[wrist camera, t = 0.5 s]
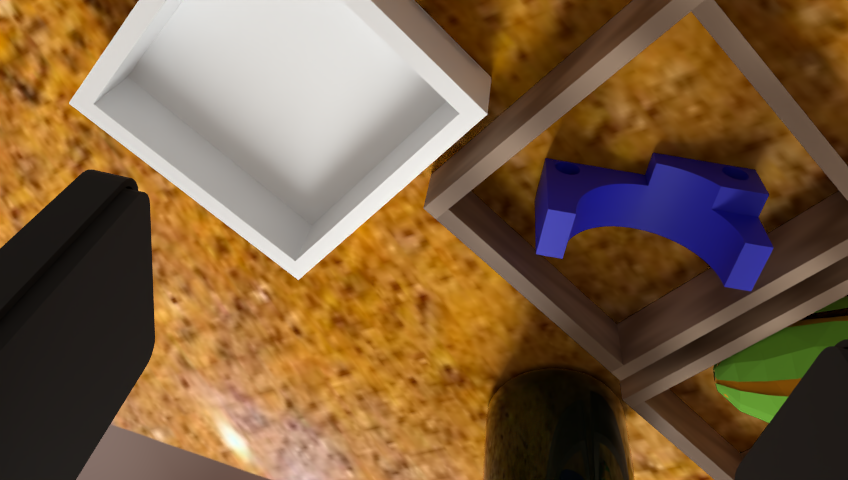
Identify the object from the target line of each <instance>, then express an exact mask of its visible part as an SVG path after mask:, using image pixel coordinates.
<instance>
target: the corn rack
mask: <svg viewBox="0 0 848 480" xmlns="http://www.w3.org/2000/svg"><path fill="white" fill-rule="evenodd" d="M846 295H848V256H846V257H844V258H843V259H841V260H839V261H837V262H835V263H833V264H832V265H830V266H828V267H826V268H824V269H823V270H821V271H819V272H817V273H815V274H814V275H812V276H810V277H808V278H806V279H804V280H803V281H801V282H799V283H797V284H795V285H794V286H792V287H790V288H788V289H786V290H785V291H783V292H781V293H779V294H777V295H775V296H774V297H772V298H770V299H768V300H766V301H765V302H763V303H761V304H759V305H757V306H756V307H754V308H752V309H750V310H748V311H746V312H745V313H743V314H741V315H739V316H737V317H736V318H734V319H732V320H730V321H728V322H727V323H725V324H723V325H721V326H719V327H718V328H716V329H714V330H712V331H710V332H708V333H707V334H705V335H703V336H701V337H699V338H698V339H696V340H694V341H692V342H690V343H689V344H687V345H685V346H683V347H681V348H679V349H678V350H676V351H674V352H672V353H670V354H669V355H667V356H665V357H663V358H661V359H660V360H658V361H656V362H654V363H652V364H650V365H649V366H647V367H645V368H643V369H641V370H640V371H638V372H636V373H634V374H632V375H631V376H629V377H627V378H625V379H623V380H621V381H620V380H619V381H620V387H621V394H622V400H623V401H624V402H625V403H626V404H628V405H629V406H630V407H631V408H632V409H633V410H635V411H636V412H637V413H638V414H639V415H640V416H642V417H643V418H644V419H645V420H646V421H647V422H648V423H650V424H651V425H652V426H653V427H654V428H655V429H657V430H658V431H659V432H660V433H661V434H662V435H664V436H665V437H666V438H667V439H668V440H669V441H670V442H672V443H673V444H674V445H675V446H676V447H677V448H679V449H680V450H681V451H682V452H683V453H684V454H685V455H687V456H688V457H689V458H690V459H691V460H692V461H694V462H695V463H696V464H697V465H698V466H699V467H701V468H702V469H703V470H704V471H705V472H706V473H707V474H709V475H710V476H711V477H712V478H713V479H714V480H734V479H735V473H736V470H737V468H738V466H739V464H740V463H741V461H742V460H743V459H744V457H745V456H746V455H747V453H748V452H749V450H750V449H749V450H747V451H745V452H742V453H739V452H738V451H737V450H736V449H735V448H734V447H733V446H732V445H730V444H729V443H728V442H727V441H726V440H725V439H724V438H723V437H722V436H720V435H719V434H718V433H717V432H716V431H715V430H714V429H713V428H712V427H710V426H709V425H708V424H707V423H706V422H705V421H704V420H703V419H702V418H700V417H699V416H698V415H697V414H696V413H695V412H694V411H693V410H692V409H691V408H689V407H688V406H687V405H686V404H685V403H684V402H683V401H682V400H681V399H679V398H678V397H677V396H676V395H675V394H674V393H673V392H672V391H671V390H669V388H671V387H673V386H675V385H677V384H679V383H681V382H682V381H684V380H686V379H688V378H690V377H692V376H694V375H696V374H698V373H700V372H701V371H703V370H705V369H707V368H709V367H711V366H713V365H715V364H717V363H719V362H721V361H722V360H724V359H726V358H728V357H730V356H732V355H734V354H736V353H738V352H740V351H742V350H743V349H745V348H747V347H749V346H751V345H753V344H755V343H757V342H759V341H761V340H763V339H764V338H766V337H768V336H770V335H772V334H774V333H776V332H778V331H780V330H782V329H784V328H785V327H787V326H789V325H791V324H793V323H795V322H797V321H799V320H801V319H803V318H805V317H806V316H808V315H810V314H812V313H814V312H816V311H818V310H820V309H822V308H824V307H825V306H827V305H829V304H831V303H833V302H835V301H837V300H839V299H841V298H843V297H845V296H846Z"/></svg>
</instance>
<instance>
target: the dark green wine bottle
mask: <svg viewBox="0 0 848 480" xmlns="http://www.w3.org/2000/svg"><path fill="white" fill-rule="evenodd" d="M483 480H635V478H634V470H633V463H632V456H631V449H630V442H629V435H628V428H627V423H626V419H625V414H624V410H623V406H622V404H621V402H620V401H619V399H618V397H617V396H616V395H615V394H614V393H613V392H612V390H611V389H610V388H609V387H608V386H607V385H605V384H604V383H602V382H601V381H599V380H598V379H596V378H594V377H592V376H590V375H587V374H585V373H581V372H578V371H574V370H568V369H560V368H548V369H539V370H533V371H530V372H526V373H523V374H520V375H518V376H516V377H514V378H512V379H510V380H509V381H508V382H506V383H505V384H504V385H502V386H501V387H500V388H499V390H498V391H497V392H496V393H495V394H494V396H493V397H492V399H491V401H490V403H489V405H488V410H487V418H486V426H485V444H484V466H483Z"/></svg>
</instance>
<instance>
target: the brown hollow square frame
mask: <svg viewBox="0 0 848 480" xmlns="http://www.w3.org/2000/svg"><path fill="white" fill-rule="evenodd" d="M689 12H692V13H693V14H694V15H695V16H696V18H697V19H698V20H699V21H700V22H701V24H702V25H703V26H704V27H705V28H706V30H707V31H708V32H709V33H710V35H711V36H712V37H713V38H714V39H715V41H716V42H717V43H718V44H719V45H720V47H721V48H722V49H723V50H724V51H725V53H726V54H727V55H728V56H729V58H730V59H731V60H732V61H733V62H734V64H735V65H736V66H737V67H738V68H739V70H740V71H741V72H742V73H743V75H744V76H745V77H746V78H747V79H748V81H749V82H750V83H751V84H752V85H753V87H754V88H755V89H756V90H757V91H758V93H759V94H760V95H761V96H762V98H763V99H764V100H765V101H766V102H767V104H768V105H769V106H770V107H771V108H772V110H773V111H774V112H775V113H776V114H777V116H778V117H779V118H780V119H781V121H782V122H783V123H784V124H785V125H786V127H787V128H788V129H789V130H790V131H791V133H792V134H793V135H794V136H795V138H796V139H797V140H798V141H799V142H800V144H801V145H802V146H803V147H804V148H805V150H806V151H807V152H808V153H809V154H810V156H811V157H812V158H813V159H814V161H815V162H816V163H817V164H818V165H819V167H820V168H821V169H822V170H823V171H824V173H825V174H826V175H827V176H828V177H829V179H830V180H831V181H832V182H833V184H834V185H835V186H836V187H837V188H838V190H839V191H838V192H836V193H834V194H833V195H831V196H829V197H828V198H826V199H824V200H823V201H821V202H819V203H818V204H816V205H814V206H813V207H811V208H810V209H808V210H806V211H805V212H803V213H801V214H800V215H798V216H796V217H795V218H793V219H791V220H790V221H788V222H786V223H785V224H783V225H781V226H780V227H778V228H776V229H775V230H773V231H771V232H770V233H768V234H767V235H768V237H769V239H770V241H771V243H772V245H773V247H774V248H773V250H772V252H771V254H770V256H769V258H768V260H767V262H766V264H765V266H764V268H763V270H762V272H761V274H760V276H759V277H758V279H757V281H756V283H755V285H754V287H753V289H752V291H746V290H740V289H734V288H728V287H724V285H723V283H722V281H721V279H720V278H719V276H718V275H717V274H716V272H715V271H714V270H713V269H712V268H710V269H708V270H706V271H705V272H703V273H701V274H700V275H698V276H696V277H695V278H693V279H691V280H690V281H688V282H687V283H685V284H683V285H682V286H680V287H678V288H677V289H675V290H673V291H672V292H670V293H668V294H667V295H665V296H663V297H662V298H660V299H658V300H657V301H655V302H653V303H652V304H650V305H648V306H647V307H645V308H643V309H642V310H640V311H638V312H637V313H635V314H633V315H632V316H630V317H628V318H627V319H625V320H623V321H622V322H620V323H618V324H616V323H615V322H614V321H613V320H612V319H610V318H609V317H608V316H607V315H606V314H605V313H604V312H603V311H602V310H601V309H599V308H598V307H597V306H596V305H595V304H594V303H593V302H592V301H591V300H590V299H589V298H587V297H586V296H585V295H584V294H583V293H582V292H581V291H580V290H579V289H578V288H577V287H575V286H574V285H573V284H572V283H571V282H570V281H569V280H568V279H567V278H566V277H565V276H563V275H562V274H561V273H560V272H559V271H558V270H557V269H556V268H555V267H554V266H553V265H551V264H550V263H549V262H548V261H547V260H546V259H545V258H544V257H543V256H542V255H538V254H536V250H535V249H534V248H533V247H532V246H531V245H530V244H529V243H527V242H526V241H525V240H524V239H523V238H522V237H521V236H520V235H519V234H518V233H517V232H515V231H514V230H513V229H512V228H511V227H510V226H509V225H508V224H507V223H506V222H505V221H503V220H502V219H501V218H500V217H499V216H498V215H497V214H496V213H495V212H494V211H492V210H491V209H490V208H489V207H488V206H487V205H486V204H485V203H484V202H483V201H482V200H480V199H479V198H478V197H477V196H476V195H475V194H474V193H473V192H472V191H471V190H472V189H474V188H475V187H476V186H477V185H479V184H480V183H481V182H482V181H483V180H485V179H486V178H487V177H488V176H490V175H491V174H492V173H493V172H494V171H496V170H497V169H498V168H499V167H501V166H502V165H503V164H504V163H505V162H507V161H508V160H509V159H510V158H512V157H513V156H514V155H515V154H517V153H518V152H519V151H520V150H521V149H523V148H524V147H525V146H526V145H528V144H529V143H530V142H531V141H532V140H534V139H535V138H536V137H537V136H539V135H540V134H541V133H542V132H543V131H545V130H546V129H547V128H548V127H550V126H551V125H552V124H553V123H555V122H556V121H557V120H558V119H559V118H561V117H562V116H563V115H564V114H566V113H567V112H568V111H569V110H570V109H572V108H573V107H574V106H575V105H577V104H578V103H579V102H580V101H581V100H583V99H584V98H585V97H586V96H588V95H589V94H590V93H591V92H593V91H594V90H595V89H596V88H597V87H599V86H600V85H601V84H602V83H604V82H605V81H606V80H607V79H608V78H610V77H611V76H612V75H613V74H615V73H616V72H617V71H618V70H619V69H621V68H622V67H623V66H624V65H626V64H627V63H628V62H629V61H631V60H632V59H633V58H634V57H635V56H637V55H638V54H639V53H640V52H642V51H643V50H644V49H645V48H646V47H648V46H649V45H650V44H651V43H653V42H654V41H655V40H656V39H657V38H659V37H660V36H661V35H662V34H664V33H665V32H666V31H667V30H669V29H670V28H671V27H672V26H673V25H675V24H676V23H677V22H678V21H680V20H681V19H682V18H683V17H684V16H686V15H687V14H688V13H689ZM424 209H425V210H426V211H427V212H428V213H430V214H431V215H432V216H433V217H434V218H435V219H436V220H438V221H439V222H440V223H441V224H442V225H443V226H444V227H446V228H447V229H448V230H449V231H450V232H451V233H452V234H454V235H455V236H456V237H457V238H458V239H459V240H460V241H462V242H463V243H464V244H465V245H466V246H467V247H468V248H470V249H471V250H472V251H473V252H474V253H475V254H476V255H478V256H479V257H480V258H481V259H482V260H483V261H484V262H486V263H487V264H488V265H489V266H490V267H491V268H492V269H493V270H495V271H496V272H497V273H498V274H499V275H500V276H501V277H503V278H504V279H505V280H506V281H507V282H508V283H509V284H511V285H512V286H513V287H514V288H515V289H516V290H517V291H519V292H520V293H521V294H522V295H523V296H524V297H525V298H527V299H528V300H529V301H530V302H531V303H532V304H533V305H535V306H536V307H537V308H538V309H539V310H540V311H541V312H543V313H544V314H545V315H546V316H547V317H548V318H549V319H551V320H552V321H553V322H554V323H555V324H556V325H557V326H558V327H560V328H561V329H562V330H563V331H564V332H565V333H566V334H568V335H569V336H570V337H571V338H572V339H573V340H574V341H576V342H577V343H578V344H579V345H580V346H581V347H582V348H584V349H585V350H586V351H587V352H588V353H589V354H590V355H592V356H593V357H594V358H595V359H596V360H597V361H598V362H600V363H601V364H602V365H603V366H604V367H605V368H606V369H608V370H609V371H610V372H611V373H612V374H613V375H614V376H616V377H617V378H618V379H619V380H620V381H621V380H623V379H625V378H627V377H629V376H631V375H632V374H634V373H636V372H638V371H640V370H641V369H643V368H645V367H647V366H649V365H650V364H652V363H654V362H656V361H658V360H660V359H661V358H663V357H665V356H667V355H669V354H670V353H672V352H674V351H676V350H678V349H679V348H681V347H683V346H685V345H687V344H689V343H690V342H692V341H694V340H696V339H698V338H699V337H701V336H703V335H705V334H707V333H708V332H710V331H712V330H714V329H716V328H718V327H719V326H721V325H723V324H725V323H727V322H728V321H730V320H732V319H734V318H736V317H737V316H739V315H741V314H743V313H745V312H746V311H748V310H750V309H752V308H754V307H756V306H757V305H759V304H761V303H763V302H765V301H766V300H768V299H770V298H772V297H774V296H775V295H777V294H779V293H781V292H783V291H785V290H786V289H788V288H790V287H792V286H794V285H795V284H797V283H799V282H801V281H803V280H804V279H806V278H808V277H810V276H812V275H814V274H815V273H817V272H819V271H821V270H823V269H824V268H826V267H828V266H830V265H832V264H833V263H835V262H837V261H839V260H841V259H843V258H844V257H846V256H848V166H847V165H846V163H845V162H844V161H843V160H842V158H841V157H840V156H839V155H838V153H837V152H836V151H835V150H834V148H833V147H832V146H831V145H830V143H829V142H828V141H827V140H826V138H825V137H824V136H823V135H822V134H821V132H820V131H819V130H818V129H817V127H816V126H815V125H814V124H813V122H812V121H811V120H810V119H809V117H808V116H807V115H806V114H805V112H804V111H803V110H802V109H801V107H800V106H799V105H798V104H797V102H796V101H795V100H794V99H793V98H792V96H791V95H790V94H789V93H788V91H787V90H786V89H785V88H784V86H783V85H782V84H781V83H780V81H779V80H778V79H777V78H776V76H775V75H774V74H773V73H772V71H771V70H770V69H769V68H768V66H767V65H766V64H765V63H764V61H763V60H762V59H761V58H760V57H759V55H758V54H757V53H756V52H755V50H754V49H753V48H752V47H751V45H750V44H749V43H748V42H747V40H746V39H745V38H744V37H743V35H742V34H741V33H740V32H739V30H738V29H737V28H736V27H735V25H734V24H733V23H732V22H731V21H730V19H729V18H728V17H727V16H726V14H725V13H724V12H723V11H722V9H721V8H720V7H719V6H718V4H717V3H716V2H715V1H714V0H633V1H631V2H630V3H629V4H628V5H627V6H626V7H624V8H623V9H622V10H621V11H620V12H619V13H617V14H616V15H615V16H614V17H613V18H612V19H611V20H609V21H608V22H607V23H606V24H605V25H604V26H602V27H601V28H600V29H599V30H598V31H597V32H596V33H594V34H593V35H592V36H591V37H590V38H589V39H587V40H586V41H585V42H584V43H583V44H582V45H580V46H579V47H578V48H577V49H576V50H575V51H574V52H572V53H571V54H570V55H569V56H568V57H567V58H565V59H564V60H563V61H562V62H561V63H560V64H559V65H557V66H556V67H555V68H554V69H553V70H552V71H550V72H549V73H548V74H547V75H546V76H545V77H543V78H542V79H541V80H540V81H539V82H538V83H537V84H535V85H534V86H533V87H532V88H531V89H530V90H528V91H527V92H526V93H525V94H524V95H523V96H521V97H520V98H519V99H518V100H517V101H516V102H515V103H513V104H512V105H511V106H510V107H509V108H508V109H506V110H505V111H504V112H503V113H502V114H501V115H500V116H498V117H497V118H496V119H495V120H494V121H493V122H491V123H490V124H489V125H488V126H487V127H486V128H484V129H483V130H482V131H481V132H480V133H479V134H478V135H476V136H475V137H474V138H473V139H472V140H471V141H469V142H468V143H467V144H466V145H465V146H464V147H463V148H461V149H460V150H459V151H458V152H457V153H456V154H454V155H453V156H452V157H451V158H450V159H449V160H447V161H446V162H445V163H444V164H443V165H442V166H441V167H439V168H438V169H437V170H436V171H435V172H434V173H432V174H431V178H430V183H429V187H428V191H427V196H426V200H425V204H424Z"/></svg>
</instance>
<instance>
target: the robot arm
mask: <svg viewBox="0 0 848 480" xmlns="http://www.w3.org/2000/svg"><path fill="white" fill-rule="evenodd" d="M154 343H155V327H154V300H153V274H152V247H151V221H150V201H149V197H148V194H146V193H145V192H141V191H138V186H137V184H136V182H135V180H133V179H132V178H128V177H123V176H119V175H114V174H110V173H105V172H101V171H96V170H86V171H85V172H83V173H82V174H81V175H79V176H78V177H77V178H76V179H75V180H74V181H73V182H72V183H71V184H70V185H69V186H68V187H66V188H65V189H64V190H63V191H62V192H61V193H60V194H59V195H58V196H57V197H56V198H55V199H53V200H52V201H51V202H50V203H49V204H48V205H47V206H46V207H45V208H44V209H43V210H42V211H40V212H39V213H38V214H37V215H36V216H35V217H34V218H33V219H32V220H31V221H30V222H29V223H27V224H26V225H25V226H24V227H23V228H22V229H21V230H20V231H19V232H18V233H17V234H16V235H15V236H13V237H12V238H11V239H10V240H9V241H8V242H7V243H6V244H5V245H4V246H3V247H2V248H0V480H76V478H77V477H78V475H79V474H80V472H81V471H82V469H83V467H84V466H85V464H86V462H87V461H88V459H89V458H90V456H91V454H92V453H93V451H94V449H95V448H96V446H97V445H98V443H99V441H100V439H101V438H102V437H103V435H104V433H105V432H106V430H107V429H108V427H109V425H110V424H111V422H112V421H113V419H114V417H115V416H116V414H117V412H118V411H119V409H120V408H121V406H122V404H123V403H124V401H125V400H126V398H127V396H128V395H129V393H130V392H131V390H132V388H133V387H134V385H135V383H136V382H137V380H138V379H139V377H140V375H141V374H142V372H143V371H144V369H145V367H146V366H147V364H148V362H149V360H150V357H151V355H152V352H153V348H154ZM734 480H848V339H844V340H842V341H840V342H838V343H837V344H836V345H835V346H829V347H827V348H825V349H824V350H823V351H822V352H821V353H820V354H819V355H818V357H817V358H816V359H815V361H814V362H813V364H812V365H811V366H810V368H809V369H808V370H807V372H806V373H805V375H804V376H803V377H802V379H801V380H800V381H799V383H798V384H797V386H796V387H795V388H794V390H793V391H792V393H791V394H790V395H789V397H788V398H787V399H786V401H785V402H784V404H783V405H782V406H781V408H780V409H779V410H778V412H777V413H776V415H775V416H774V417H773V419H772V420H771V421H770V423H769V424H768V426H767V427H766V428H765V430H764V431H763V432H762V434H761V435H760V437H759V438H758V439H757V441H756V442H755V444H754V445H753V446H752V448H751V449H750V450H749V452H748V453H747V455H746V456H745V457H744V459H743V460H742V461H741V463H740V464H739V466H738V468H737V470H736V473H735V479H734Z"/></svg>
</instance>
